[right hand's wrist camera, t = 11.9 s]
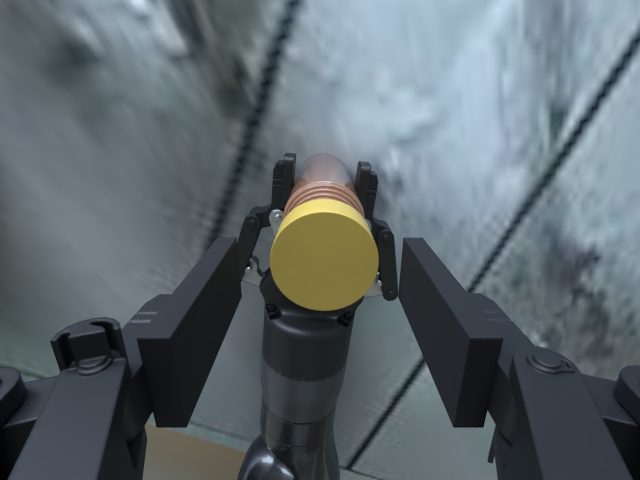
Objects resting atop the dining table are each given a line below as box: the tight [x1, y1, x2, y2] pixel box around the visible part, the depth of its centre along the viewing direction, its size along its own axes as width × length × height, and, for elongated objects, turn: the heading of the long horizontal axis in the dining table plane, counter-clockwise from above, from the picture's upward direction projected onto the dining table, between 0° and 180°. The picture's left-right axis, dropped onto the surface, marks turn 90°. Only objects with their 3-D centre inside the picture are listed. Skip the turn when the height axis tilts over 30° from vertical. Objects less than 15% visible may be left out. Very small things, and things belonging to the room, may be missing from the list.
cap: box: [270, 199, 379, 311], centre depth 15 cm, size 4×4×2 cm
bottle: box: [283, 154, 365, 220], centre depth 23 cm, size 5×5×18 cm
